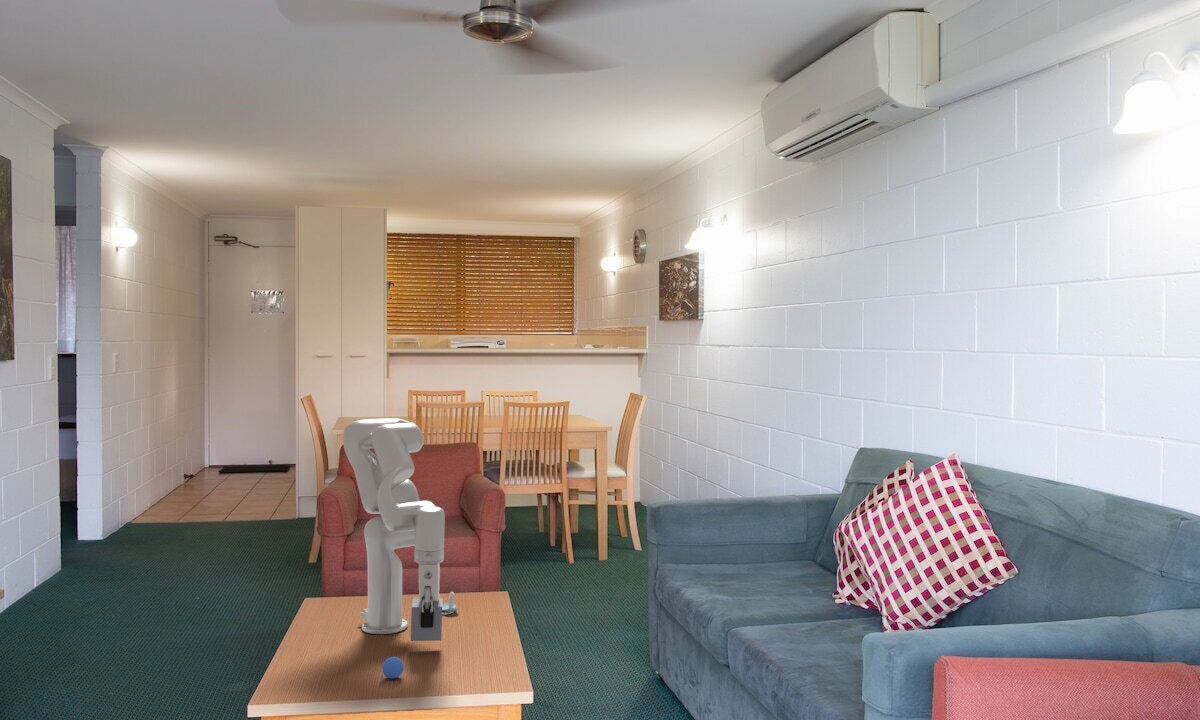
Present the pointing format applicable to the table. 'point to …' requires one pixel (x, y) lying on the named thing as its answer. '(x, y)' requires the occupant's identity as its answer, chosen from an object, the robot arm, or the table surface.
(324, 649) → the table surface
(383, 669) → the ball
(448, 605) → the pacifier
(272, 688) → the table surface
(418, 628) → the gray foam cube
